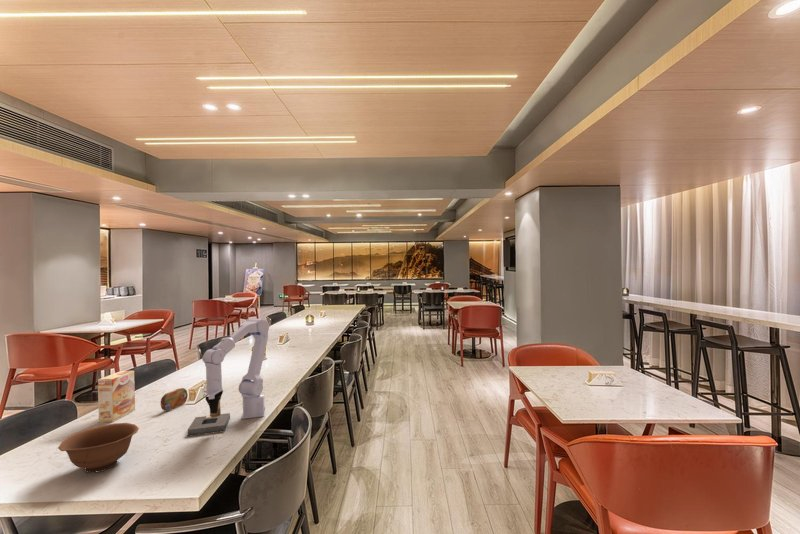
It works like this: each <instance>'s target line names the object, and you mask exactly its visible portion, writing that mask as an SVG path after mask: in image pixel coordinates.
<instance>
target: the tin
mask: <svg viewBox="0 0 800 534" xmlns="http://www.w3.org/2000/svg"><path fill="white" fill-rule="evenodd" d="M188 395H189V394H188V390H187V389H186V388H184V387H183V388H176V389H174V390H171V391H169V392H167V393H165V394H163V395H162V397H161V399H160V408H161V410H162V411H165V412H166V411H169V412H171V411H173V410H175V409H177V408H179V407H182V406H184V404H186V402H187V400H188V397H189V396H188ZM172 409H173V410H172ZM170 410H171V411H170Z"/></svg>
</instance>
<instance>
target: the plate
mask: <svg viewBox="0 0 800 534" xmlns="http://www.w3.org/2000/svg"><path fill="white" fill-rule="evenodd" d="M230 420H231V413H228V412H227V413H221V415H219V416H217V417H210V415H204V416H195V417H194V419H193V421H192V422H191V424H190V426H189V427H188V428H187V437H191V436H190V435H192V436H198V434H199V435H206V434H205V433H207V434H213V432H214V433H221V432H220V431H222V432H225V431H226V430H227V428H228V424H229V422H230Z"/></svg>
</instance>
